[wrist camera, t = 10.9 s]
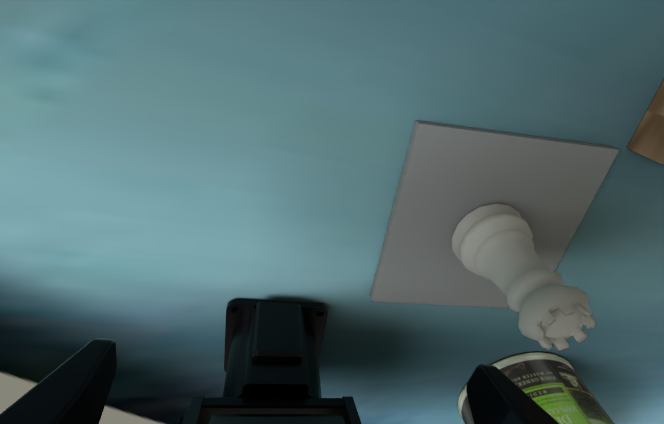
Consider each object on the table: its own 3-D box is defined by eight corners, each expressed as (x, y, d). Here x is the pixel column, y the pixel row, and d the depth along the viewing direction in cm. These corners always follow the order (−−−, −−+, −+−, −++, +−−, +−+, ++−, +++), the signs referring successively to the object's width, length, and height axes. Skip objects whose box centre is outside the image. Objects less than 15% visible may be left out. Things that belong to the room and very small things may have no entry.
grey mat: (529, 303, 28) (534, 309, 27) (369, 295, 26) (371, 301, 25) (611, 146, 22) (619, 149, 22) (415, 120, 20) (418, 123, 20)
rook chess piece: (434, 235, 23) (497, 336, 16) (494, 185, 22) (590, 272, 15) (474, 273, 25) (546, 379, 18) (532, 229, 24) (634, 324, 17)
